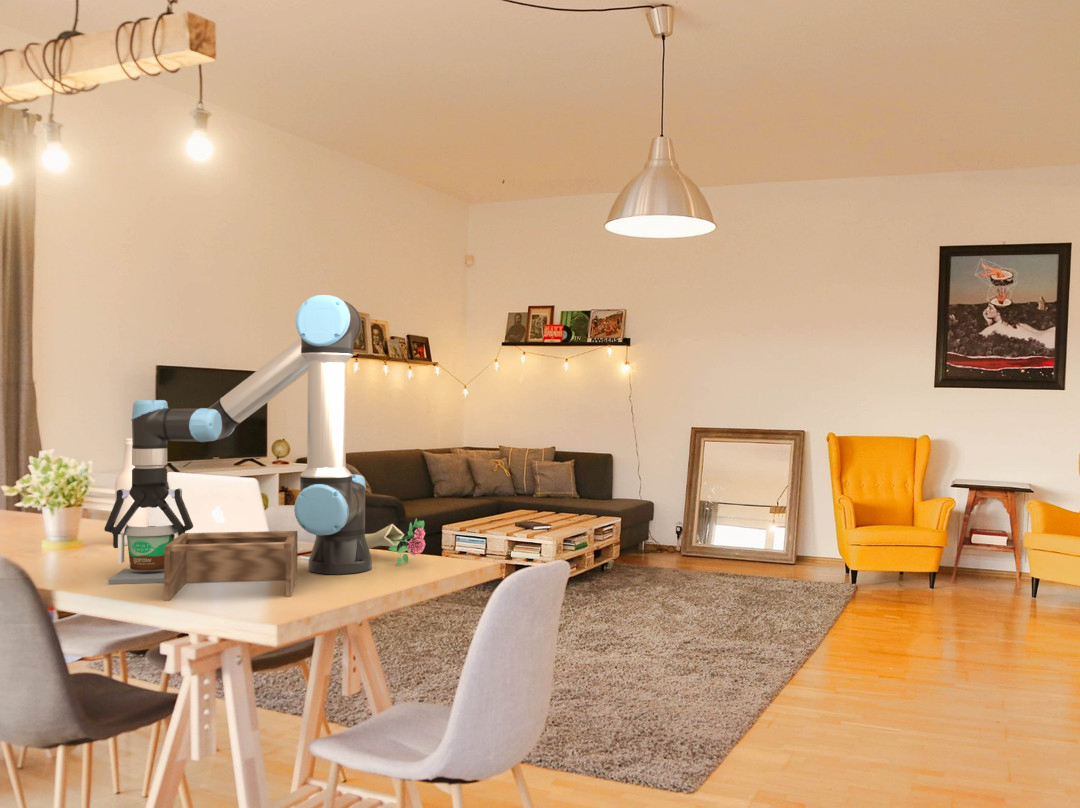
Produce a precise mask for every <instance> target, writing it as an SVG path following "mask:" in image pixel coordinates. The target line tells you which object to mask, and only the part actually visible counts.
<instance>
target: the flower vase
mask: <svg viewBox="0 0 1080 808" xmlns="http://www.w3.org/2000/svg"><path fill="white" fill-rule="evenodd" d="M408 526H409V527H408V531H407V535H406V536H405V533H403V531H401V529H399V528H398V527H396V525H394V523H391V524H389V525H387V526H385V527H383V528H381V529H380V530H378V531H376V532H373V533H365V539H366V542H367V545H368V548H369V549H371V548H376V547H379V546H380V547H381V546H383V547H384V546H385V547H389V548H388V550H390V551H392V552H396V553H397V554H399V556H398V557H397V562H396V566H397V567H398V566H400V565H402V564H403V562H404V563H406V564H408V563H409V555H408V554H410V555H411V556H416V555H420V554H421V553H423V551H424V550H425V547H426V540H425V539H424V538H425V535H426V532H425V528H424V527H425V521H424V520H418V519H417V517H416V518H415V520H414V523H413V524H412V522H411V521H410V523H409V525H408ZM414 528H416V529H415V530H414ZM413 530H414V531H413ZM408 539H410V540H409V541H408ZM400 542H401V543H402V546H401V545H400V544H401V543H400ZM403 542H404V543H407V544H408V545H407V544H406V545H405V544H404V543H403ZM398 545H399V546H400V547H399V548H398ZM406 551H407V553H405V552H406ZM401 554H402V557H401Z"/></svg>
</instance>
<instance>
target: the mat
mask: <svg viewBox="0 0 1080 808" xmlns="http://www.w3.org/2000/svg"><path fill="white" fill-rule="evenodd" d="M107 582H108V585H124V584H125V585H127V584H129V585H130V584H133V585H134V584H160V583H161V584H163V583H164V569H160V570H133V569H131V568H123V569H121V570H120V571H119V572H117V573H116V574H115V575H113V576H112V577H111V578H109V579H108V581H107Z"/></svg>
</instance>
